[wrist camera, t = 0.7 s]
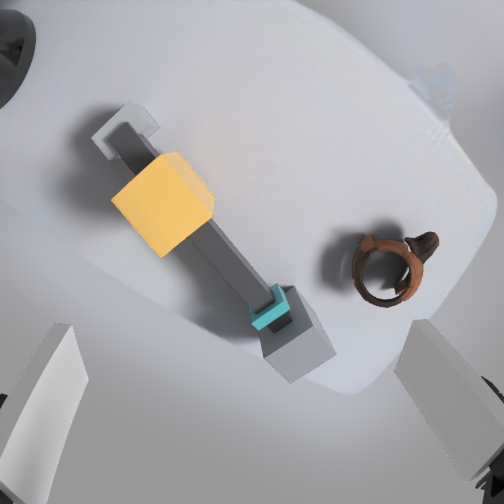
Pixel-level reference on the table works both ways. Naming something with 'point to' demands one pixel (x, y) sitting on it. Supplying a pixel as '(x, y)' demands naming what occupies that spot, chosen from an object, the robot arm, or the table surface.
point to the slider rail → (231, 262)
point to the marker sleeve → (166, 202)
